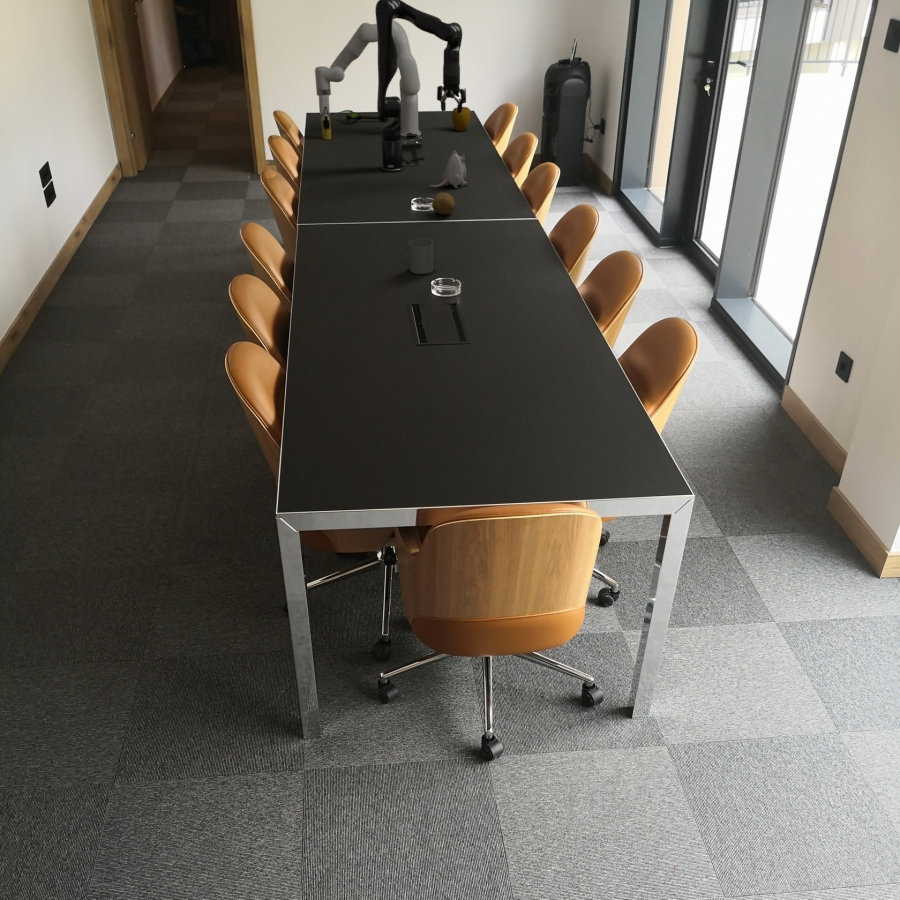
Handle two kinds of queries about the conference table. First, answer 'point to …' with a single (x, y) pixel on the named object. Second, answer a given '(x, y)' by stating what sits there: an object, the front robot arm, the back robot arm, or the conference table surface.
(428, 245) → the cup
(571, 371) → the conference table surface
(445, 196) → the potato
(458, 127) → the yellow rounded blob
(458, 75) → the front robot arm
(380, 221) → the conference table surface
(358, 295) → the conference table surface
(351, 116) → the scepter
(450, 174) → the toy
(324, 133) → the can
